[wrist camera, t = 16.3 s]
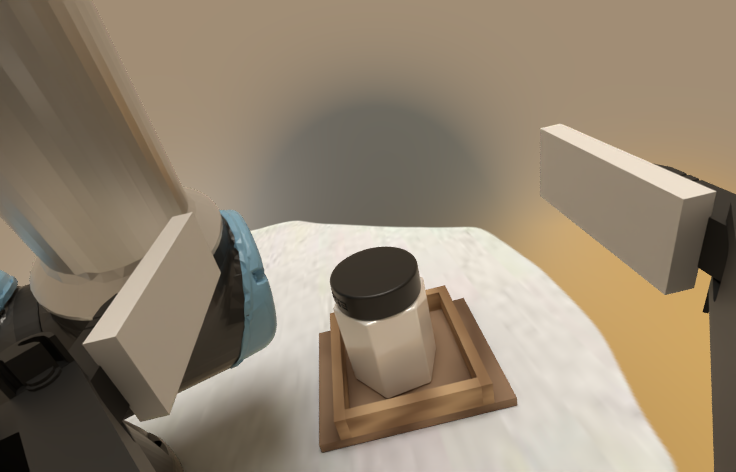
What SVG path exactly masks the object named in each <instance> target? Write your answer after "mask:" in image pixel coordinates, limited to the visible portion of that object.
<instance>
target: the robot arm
mask: <svg viewBox="0 0 736 472" xmlns="http://www.w3.org/2000/svg"><path fill="white" fill-rule="evenodd" d="M540 196H541V197H542V198H543V199H545V200H546V201H547V202H549V203H550V204H551V205H553V206H554V207H555V208H556V209H557V210H559V211H560V212H561V213H562V214H564V215H565V216H566V217H567V218H569V219H570V220H571V221H572V222H574V223H575V224H576V225H578V226H579V227H580V228H581V229H583V230H584V231H585V232H586V233H588V234H589V235H590V236H592V237H593V238H594V239H595V240H596V241H598V242H599V243H600V244H601V245H603V246H604V247H605V248H607V249H608V250H609V251H610V252H612V253H613V254H614V255H615V256H617V257H618V258H619V259H620V260H622V261H623V262H624V263H626V264H627V265H628V266H629V267H631V268H632V269H633V270H634V271H635V272H637V273H638V274H639V275H641V276H642V277H643V278H644V279H646V280H647V281H648V282H649V283H651V284H652V285H653V286H654V287H656V288H657V289H658V290H659V291H661V292H662V293H663V294H665V295H667V294H671V293H676V292H680V291H683V290H688V289H692V288H694V285H695V281H696V277H697V273H698V268H700V269H701V270H703V271H705V272H706V273H707V274H709V275H711V276H712V277H711V281H710V285H709V289H708V293H707V297H706V301H705V305H704V309H703V312H704V313H709V316H710V317H709V319H710V351H711V381H712V414H713V446H714V472H736V194H734V193H731V192H729V191H727V190H724V189H722V188H719V187H717V186H715V185H712V184H710V183H707V182H705V181H703V180H701V181H699V179H698V178H696V177H693V176H691V175H687V174H686V173H684V172H682V171H679V170H677V169H674V168H672V167H668V166H662V165H657V164H653V163H650V162H647V161H645V160H643V159H641V158H638V157H636V156H634V155H632V154H629V153H627V152H625V151H622V150H620V149H618V148H615V147H613V146H610V145H608V144H606V143H604V142H602V141H599V140H597V139H595V138H592V137H590V136H588V135H586V134H583V133H581V132H579V131H576V130H574V129H572V128H569V127H567V126H565V125H563V124H557V125H553V126H549V127H544V128H541V129H540ZM0 217H1V218H2V219H3V220H4V221H5V222H6V224H7V225H8V226H9V227H10V228H11V229H12V230H13V231H14V232H15V233H16V234H17V235H18V236H19V237H20V238H21V239H22V241H23V242H24V243H26V245H27V246H28V247H29V248H30V249H31V250H32V251H33V252H34V253H35V254H36V257H35V260H34V262H33V265H32V268H31V271H30V280H29V281H30V284H29V285H25V286H22V287H21V286H17V285H18V284H17V283H18V281H17V280H16V278H15V277H13V276H10V275H9V274H7V273H5V272H4V271H2V270H0V472H183V469H182V466H181V463H180V462H179V460H178V458H177V457H176V456H175V454H174V453H173V451H172V450H171V449H170V447H169V446H168V445H167V444H166V443H165V442H164V441H163V440H162V439H161V438H159V437H157V436H155V435H153V434H151V433H148V432H146V431H145V430H143V429H141V428H139V427H138V426H136V425H133V424H131V423H129V422H127V421H125V419H127V418H128V417H130V416H132V415H134V414H135V415H136V417H137V418H138V419H139V421H140V422H142V421H146V420H150V419H154V418H158V417H163V416H167V415H170V412H171V409H172V407H173V404H174V401H175V398H176V396H177V394H178V393H180V392H182V391H184V390H186V389H188V388H190V387H192V386H194V385H196V384H198V383H200V382H202V381H204V380H206V379H209V378H211V377H213V376H215V375H217V374H219V373H221V372H223V371H225V370H227V369H229V368H231V369H232V368H234V367H236V366H238V365H239V364H240V363H241V362H242V361H243V360H244V359H246V358H248V357H249V356H251V355H253V354H255V353H256V352H258V351H260V350H262V349H263V348H265V347H266V346H267V345H269V343H270V342H271V341H272V340H273V338H274V335H275V332H276V326H277V320H276V311H275V305H274V301H273V296H272V292H271V288H270V285H269V282H268V279H267V277H266V275H265V274H264V268H263V264H262V260H261V256H260V254H259V251H258V248H257V246H256V243H255V241H254V238H253V236H252V234H251V232H250V230H249V228H248V226H247V224H246V223H245V221H244V219H243V217H242V216H241V215H240V214H239V213H238V212H237V211H235V210H226V211H225V210H219V209H218V207H217V206H216V204H215V203H214V202H213V201H212V200H211V199H210V198H209V197H208V196H207V195H205V194H204V193H202V192H200V191H198V190H195V189H192V188H188V187H183V186H182V185H181V183H180V181H179V179H178V177H177V175H176V172H175V170H174V168H173V166H172V164H171V162H170V160H169V158H168V156H167V154H166V152H165V150H164V148H163V146H162V143H161V142H160V139H159V137H158V135H157V133H156V131H155V129H154V127H153V125H152V123H151V121H150V118H149V116H148V114H147V112H146V110H145V108H144V106H143V104H142V102H141V100H140V98H139V96H138V94H137V91H136V89H135V87H134V86H133V83H132V81H131V79H130V77H129V75H128V73H127V71H126V69H125V67H124V64H123V62H122V60H121V58H120V56H119V54H118V52H117V50H116V48H115V46H114V44H113V42H112V40H111V38H110V35H109V33H108V31H107V29H106V27H105V25H104V23H103V21H102V19H101V17H100V15H99V13H98V10H97V8H96V6H95V4H94V2H93V0H0Z"/></svg>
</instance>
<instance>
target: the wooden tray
mask: <svg viewBox="0 0 736 472" xmlns="http://www.w3.org/2000/svg"><path fill="white" fill-rule="evenodd" d="M425 291H426V296H427V302H428V307H429V313H430V318H431V323H432V329H433V334H434V339H435V345H436V352H435V359H434V365H433V372H432V379H431V382H430V383H427V384H425V385H422V386H420V387H417V388H414V389H412V390H409V391H407V392H404V393H401V394H399V395H396V396H394V397H391V398H385V397H384V396H382V395H381V394H379V393H378V392H376V391H375V390H373V389H372V388H370V387H369V386H367V385H366V384H364V383H363V382H361V381H359V380H358V379H356V377H355V374H354V371H353V368H352V365H351V362H350V359H349V356H348V353H347V350H346V347H345V344H344V341H343V338H342V335H341V331H340V328H339V325H338V322H337V319H336V316H335V313H330V329H331V331H327V332H323V333H319V446H320V448H321V451H322V452H327V451H331V450H335V449H339V448H343V447H347V446H351V445H355V444H359V443H364V442H368V441H372V440H376V439H380V438H384V437H388V436H392V435H397V434H401V433H405V432H409V431H413V430H417V429H421V428H425V427H429V426H434V425H438V424H442V423H446V422H450V421H454V420H458V419H462V418H466V417H471V416H475V415H479V414H483V413H487V412H491V411H495V410H499V409H503V408H508V407H512V406H516V405H517V397H516V395H515V394H514V392H513V390H512V388H511V386H510V384H509V382H508V380H507V379H506V377H505V375H504V373H503V371H502V369H501V367H500V365H499V364H498V362H497V360H496V358H495V356H494V354H493V352H492V350H491V349H490V347H489V345H488V343H487V341H486V339H485V337H484V335H483V334H482V332H481V330H480V328H479V326H478V324H477V322H476V320H475V319H474V317H473V315H472V313H471V311H470V309H469V307H468V305H467V304H466V302H465V300H464V298H462V299H458V300H454V301H452V299H451V297H450V295H449V293H448V291H447V289H446V287H445V286H440V287H436V288H432V289H428V290H425Z"/></svg>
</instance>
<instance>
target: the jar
mask: <svg viewBox="0 0 736 472" xmlns="http://www.w3.org/2000/svg"><path fill="white" fill-rule="evenodd" d="M330 285H331V290H332V294H333V297H334V300H335V302H336V304H335V306H334V308H333V310H334V313H335V316H336V319H337V322H338V325H339V328H340V331H341V335H342V338H343V341H344V344H345V347H346V350H347V353H348V356H349V359H350V362H351V365H352V368H353V371H354V374H355V377H356V379H358V380H359V381H361V382H363V383H364V384H366V385H367V386H369V387H370V388H372V389H373V390H375V391H376V392H378V393H379V394H381V395H382V396H384V397H385V398H391V397H394V396H396V395H399V394H401V393H404V392H407V391H409V390H412V389H414V388H417V387H420V386H422V385H425V384H427V383H430V382H431V379H432V372H433V365H434V359H435V352H436V345H435V339H434V334H433V329H432V323H431V318H430V313H429V307H428V302H427V296H426V291H425V286H424V280H423V278H422V277H420V276H419V271H418V265H417V261H416V259H415V257H414V256H413V255H412V254H411V253H409V252H408V251H406V250H403V249H400V248H396V247H376V248H370V249H366V250H363V251H360V252H357V253H355V254H353V255H351V256H349V257H347V258H346V259H344V260H343V261H342V262H340V263H339V264H338V265H337V266H336V267H335V269H334V270H333V272H332V274H331V277H330Z"/></svg>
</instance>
